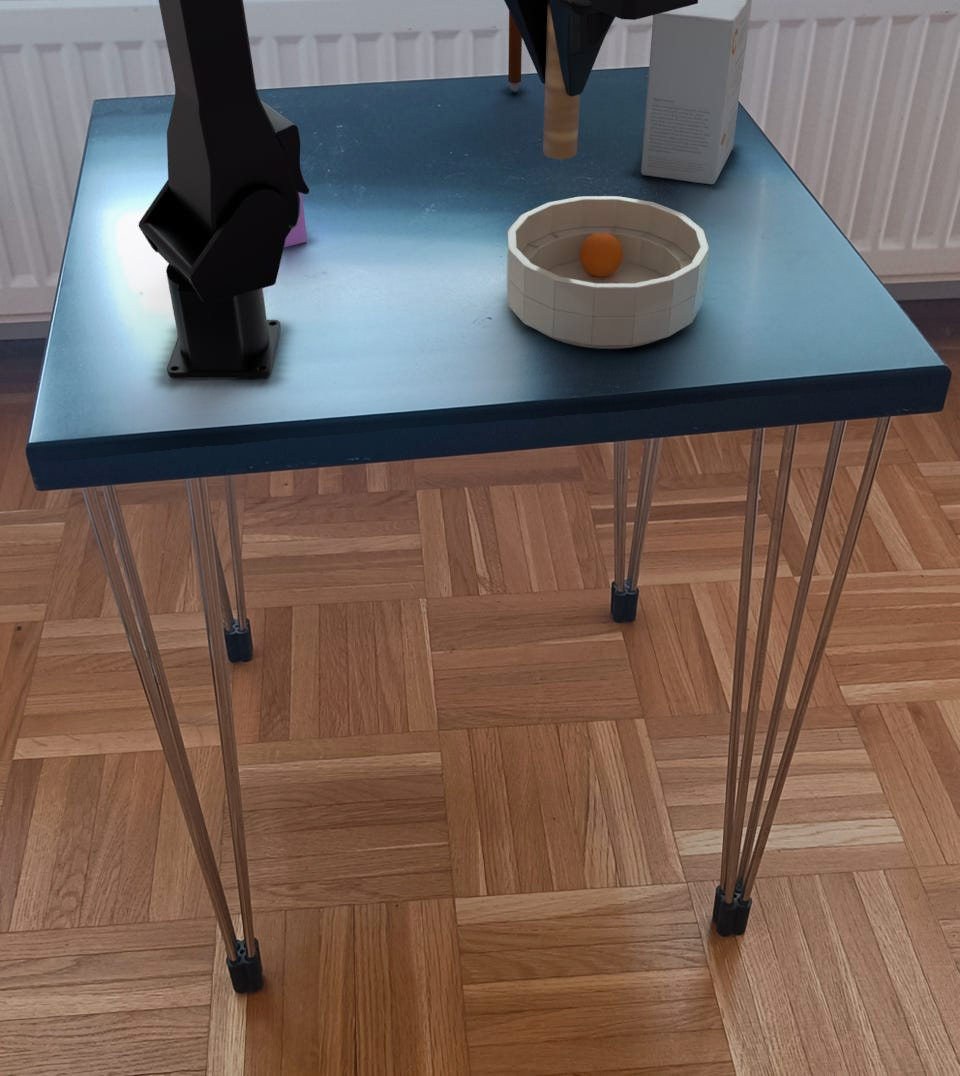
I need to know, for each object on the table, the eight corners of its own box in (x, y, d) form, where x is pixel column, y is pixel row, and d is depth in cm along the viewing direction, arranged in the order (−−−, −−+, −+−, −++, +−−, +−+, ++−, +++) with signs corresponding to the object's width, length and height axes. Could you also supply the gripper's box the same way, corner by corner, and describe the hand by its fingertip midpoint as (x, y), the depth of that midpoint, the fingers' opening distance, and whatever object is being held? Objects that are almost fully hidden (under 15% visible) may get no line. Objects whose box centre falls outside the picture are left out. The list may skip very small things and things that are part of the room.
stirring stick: (578, 159, 86) (586, 9, 80) (543, 159, 86) (548, 10, 80) (575, 145, 88) (582, -2, 82) (541, 146, 88) (546, -2, 82)
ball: (623, 284, 86) (626, 244, 84) (579, 284, 86) (582, 245, 84) (619, 264, 89) (622, 225, 87) (577, 264, 89) (579, 225, 87)
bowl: (712, 356, 81) (722, 287, 78) (509, 357, 81) (510, 288, 78) (685, 260, 91) (693, 195, 88) (504, 260, 91) (505, 196, 88)
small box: (661, 138, 108) (676, -20, 100) (734, 148, 106) (755, -12, 98) (637, 175, 102) (651, 10, 94) (714, 186, 100) (735, 19, 92)
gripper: (782, -163, 72) (746, 103, 82) (576, -210, 84) (566, 29, 94) (639, -137, 67) (619, 144, 77) (440, -191, 79) (445, 59, 89)
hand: (562, 88), depth 84 cm, fingers closed on stirring stick, 2 cm apart
